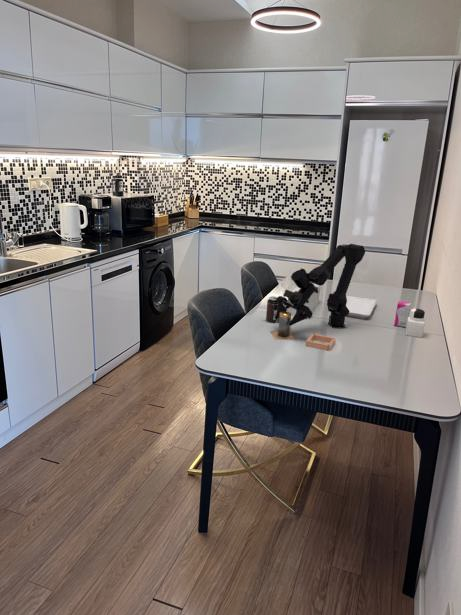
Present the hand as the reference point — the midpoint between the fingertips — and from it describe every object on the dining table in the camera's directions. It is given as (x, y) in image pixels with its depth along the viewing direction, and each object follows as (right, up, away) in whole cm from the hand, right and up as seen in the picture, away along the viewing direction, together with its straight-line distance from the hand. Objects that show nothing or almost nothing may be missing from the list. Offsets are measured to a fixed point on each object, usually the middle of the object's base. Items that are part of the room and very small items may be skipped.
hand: (282, 321), depth 198 cm
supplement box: (+61, -3, +27) cm, 66 cm away
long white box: (+16, +5, +45) cm, 49 cm away
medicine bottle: (+63, -6, +15) cm, 65 cm away
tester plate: (+1, -7, +3) cm, 7 cm away
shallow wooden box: (+15, -10, -5) cm, 19 cm away
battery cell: (+1, -6, +3) cm, 6 cm away
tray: (+45, +4, +47) cm, 65 cm away
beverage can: (-2, -1, +21) cm, 21 cm away
